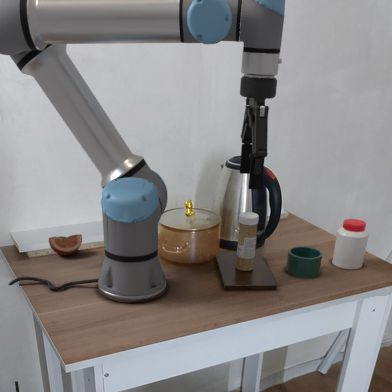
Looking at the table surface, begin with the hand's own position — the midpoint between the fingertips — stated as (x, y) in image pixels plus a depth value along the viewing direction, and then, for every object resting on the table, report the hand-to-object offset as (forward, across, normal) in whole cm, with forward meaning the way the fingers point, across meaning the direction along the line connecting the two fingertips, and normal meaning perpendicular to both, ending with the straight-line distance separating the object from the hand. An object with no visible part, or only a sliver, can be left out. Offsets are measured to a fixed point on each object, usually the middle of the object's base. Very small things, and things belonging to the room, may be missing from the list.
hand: (249, 180), depth 125 cm
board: (+22, 0, 0) cm, 22 cm away
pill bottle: (+22, +6, -28) cm, 36 cm away
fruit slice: (+23, +11, +44) cm, 50 cm away
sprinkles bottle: (+21, 0, 0) cm, 21 cm away
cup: (+22, +1, -16) cm, 27 cm away
